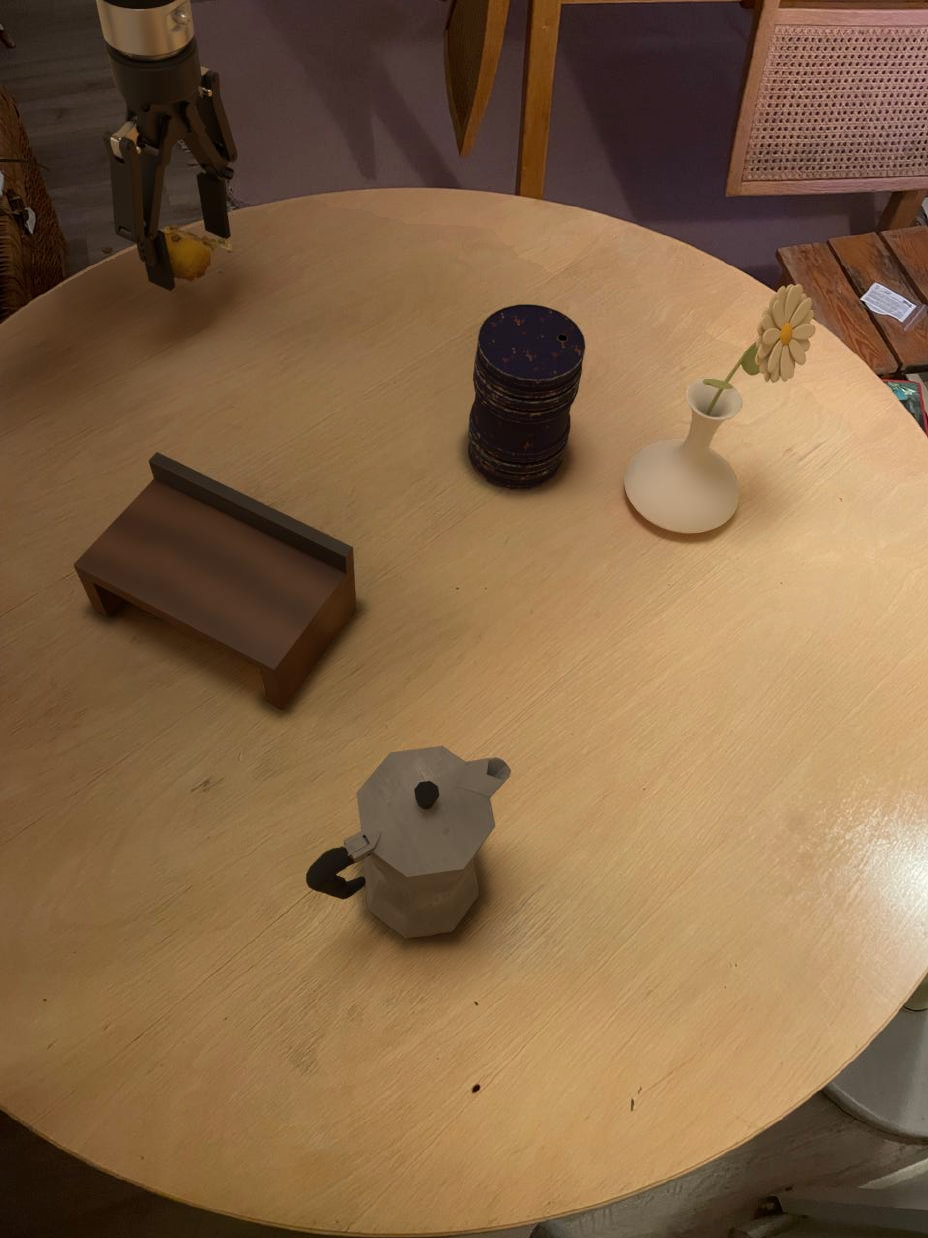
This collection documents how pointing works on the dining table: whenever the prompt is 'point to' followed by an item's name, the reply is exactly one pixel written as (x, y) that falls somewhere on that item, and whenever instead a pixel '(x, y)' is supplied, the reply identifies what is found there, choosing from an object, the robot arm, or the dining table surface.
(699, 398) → the flower in vase
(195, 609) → the shelf
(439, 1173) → the dining table surface
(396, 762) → the coffeepot
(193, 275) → the fruit
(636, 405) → the dining table surface
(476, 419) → the dark blue barrel
